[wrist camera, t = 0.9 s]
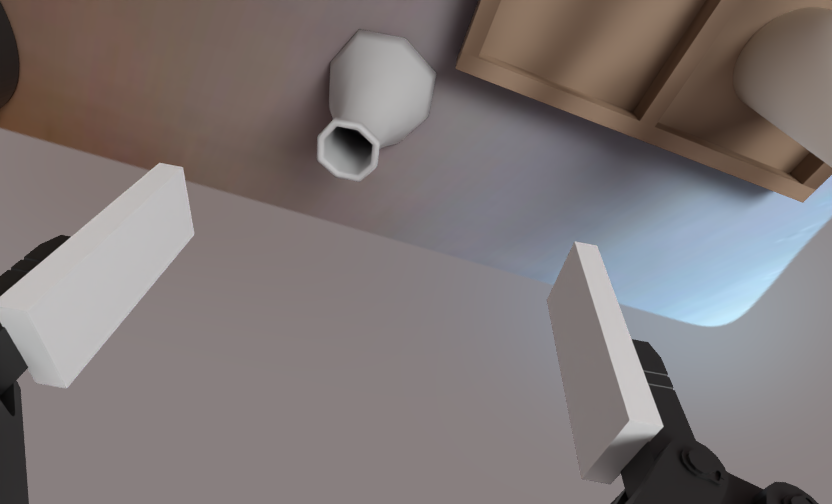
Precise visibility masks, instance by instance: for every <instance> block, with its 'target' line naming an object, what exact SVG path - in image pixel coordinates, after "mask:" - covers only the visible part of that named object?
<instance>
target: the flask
mask: <svg viewBox="0 0 832 504" xmlns="http://www.w3.org/2000/svg"><path fill="white" fill-rule="evenodd" d="M436 74H437V73H436V72H435V71H434V70H433V69H432V68H431V67H430V66H429V64H428V63H427V62H426V61H425V60H424V59H423V58H422V57H421V55H420V54H419V53H418V52H417V51H416V50H415V49H414V48H413V46H412V45H411V44H410V43H409V42H408V41H407V40H406V38H403V37H397V36H392V35H387V34H382V33H377V32H372V31H367V30H361V29H359V30H358V31H357V32H356V34H355V35H354V36H353V37H352V38H351V39H350V40H349V42H348V43H347V44H346V45H345V46H344V47H343V48H342V50H341V51H340V52H339V53H338V54H337V55H336V56H335V58H334V59H333V60H332V61H331V62H330V87H329V109H330V112H331V115H332V118H333V120H332V121H331V122H330V123H329V124H328V125H327V126H326V127H325V129H324V130H323V131H322V132H321V133H320V134H319V135H318V136H317V161H318V162H319V163H320V164H321V165H322V166H324V167H325V168H326V169H327V170H328V171H329V172H330V173H331V174H333V175H334V176H335V177H337V178H342V179H347V180H352V181H357V182H360V181H362V180H363V179H364V178H365V177H366V176H367V175H368V174H369V173H371V172H372V171H373V170H374V169H375V168H376V167H377V165H378V156H379V149H381V148H383V147H386V146H390V145H394V144H398V143H400V142H401V141H402V140H403V139H404V138H405V137H407V136H408V135H409V134H410V133H411V132H412V131H413V130H414V129H415V128H417V127H418V126H419V125H420V124H421V123H422V122H423V121H424V120H425V119H427V118H428V117H429V113H430V107H431V102H432V96H433V91H434V85H435V79H436Z"/></svg>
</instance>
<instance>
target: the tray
mask: <svg viewBox="0 0 832 504" xmlns="http://www.w3.org/2000/svg"><path fill="white" fill-rule="evenodd" d="M806 7H821V8H826V9H829V10H832V0H479V1H478V3H477V6H476V9H475V11H474V14H473V17H472V20H471V22H470V25H469V28H468V30H467V33H466V36H465V38H464V41H463V44H462V46H461V49H460V52H459V54H458V57H457V62H456V68H455V69H457V70H460V71H462V72H465V73H468V74H470V75H473V76H475V77H478V78H481V79H483V80H486V81H488V82H491V83H494V84H496V85H499V86H501V87H504V88H507V89H509V90H512V91H514V92H517V93H520V94H522V95H525V96H527V97H530V98H533V99H535V100H538V101H540V102H543V103H546V104H548V105H551V106H553V107H556V108H559V109H561V110H564V111H566V112H569V113H572V114H574V115H577V116H579V117H582V118H584V119H587V120H590V121H592V122H595V123H597V124H600V125H603V126H605V127H608V128H610V129H613V130H616V131H618V132H621V133H623V134H626V135H629V136H631V137H634V138H636V139H639V140H642V141H644V142H647V143H649V144H652V145H655V146H657V147H660V148H662V149H665V150H668V151H670V152H673V153H675V154H678V155H681V156H683V157H686V158H688V159H691V160H694V161H696V162H699V163H701V164H704V165H707V166H709V167H712V168H714V169H717V170H720V171H722V172H725V173H727V174H730V175H733V176H735V177H738V178H740V179H743V180H746V181H748V182H751V183H753V184H756V185H759V186H761V187H764V188H766V189H769V190H772V191H774V192H777V193H779V194H782V195H785V196H787V197H790V198H792V199H795V200H798V201H800V202H804V201H805V200H806V199H807V198H808V197H809V196H810V195H811V194H812V193H813V192H814V191H815V190H816V189H817V188H818V187H819V186H820V185H822V184H823V183H824V182H825V181H826V180H827V179H828V178H829V177H830V176H831V175H832V167H830V166H829V165H828V164H826V163H825V162H824V161H822V160H821V159H819V158H818V157H817V156H815V155H814V154H813V153H811V152H810V151H809V150H807V149H806V148H805V147H803V146H802V145H800V144H799V143H798V142H796V141H795V140H794V139H792V138H791V137H790V136H788V135H787V134H785V133H784V132H783V131H781V130H780V129H779V128H777V127H776V126H775V125H773V124H772V123H771V122H769V121H768V120H766V119H765V118H764V117H762V116H761V115H760V114H758V113H757V112H756V111H754V110H753V109H752V108H750V107H749V106H747V105H746V104H745V103H743V102H742V101H741V100H740V99H739V97H738V96H737V94H736V92H735V89H734V85H733V73H734V68H735V64H736V62H737V59H738V57H739V55H740V53H741V51H742V50H743V48H744V47H745V45H746V44H747V42H748V41H749V40H750V39H751V38H752V37H753V36H754V35H755V33H756V32H757V31H759V30H760V29H761V28H762V27H763V26H765V25H766V24H767V23H769V22H770V21H772V20H773V19H775V18H777V17H778V16H781V15H783V14H785V13H787V12H790V11H793V10H796V9H800V8H806Z"/></svg>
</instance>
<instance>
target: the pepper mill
mask: <svg viewBox="0 0 832 504" xmlns="http://www.w3.org/2000/svg"><path fill="white" fill-rule="evenodd" d="M733 85H734V89H735V92H736V94H737V96H738V97H739V99H740V100H741V101H742V102H743V103H745V104H746V105H747V106H749V107H750V108H752V109H753V110H754V111H756V112H757V113H758V114H760V115H761V116H762V117H764V118H765V119H766V120H768V121H769V122H771V123H772V124H773V125H775V126H776V127H777V128H779V129H780V130H781V131H783V132H784V133H785V134H787V135H788V136H790V137H791V138H792V139H794V140H795V141H796V142H798V143H799V144H800V145H802V146H803V147H805V148H806V149H807V150H809V151H810V152H811V153H813V154H814V155H815V156H817V157H818V158H819V159H821V160H822V161H824V162H825V163H826V164H828V165H829V166H830V167H832V10H829V9H826V8H821V7H806V8H800V9H796V10H793V11H790V12H787V13H785V14H783V15H781V16H778V17H777V18H775V19H773V20H772V21H770V22H769V23H767V24H766V25H765V26H763V27H762V28H761V29H760V30H759V31H757V32H756V33H755V35H754V36H753V37H752V38H751V39H750V40H749V41H748V42H747V44H746V45H745V47H744V48H743V50H742V51H741V53H740V55H739V57H738V59H737V62H736V64H735V68H734V73H733Z"/></svg>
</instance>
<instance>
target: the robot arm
mask: <svg viewBox="0 0 832 504" xmlns="http://www.w3.org/2000/svg"><path fill="white" fill-rule="evenodd" d="M18 73H19V60H18V52H17V46H16V42H15V38H14V35H13V32H12V28H11V26H10V23H9V20H8V18H7V16H6V14H5V11H4V9H3V7H2V5H1V3H0V108H1V107H2V106H3V105H4V104H6V103H7V101H8V100H9V99H10V98H11V96H12V94H13V92H14V90H15V88H16V84H17V80H18ZM193 236H194V229H193V223H192V218H191V212H190V206H189V200H188V194H187V189H186V183H185V177H184V171H183V167H179V166H174V165H169V164H163V163H159V164H157V165H156V166H155V167H154V168H153V169H151V170H150V171H149V172H148V173H147V174H145V175H144V176H143V177H142V178H141V179H140V180H138V181H137V182H136V183H135V184H134V185H132V186H131V187H130V188H129V189H128V190H126V191H125V192H124V193H123V194H122V195H120V196H119V197H118V198H117V199H116V200H115V201H113V202H112V203H111V204H110V205H109V206H107V207H106V208H105V209H104V210H103V211H102V212H100V213H99V214H98V215H97V216H95V217H94V218H93V219H92V220H91V221H90V222H88V223H87V224H86V225H85V226H84V227H82V228H81V229H80V230H79V231H78V232H76V233H75V234H74V235H73V236H72V237H70V236H64V235H60V236H58V237H55V238H53V239H51V240H49V241H47V242H45V243H42V244H40V245H39V246H38V247H36V248H35V249H34V250H32V251H31V252H30V253H29V254H27V255H26V256H25V257H24V260H20V261H19V262H18V263H16V264H15V265H14V266H13V267H11V270H7V271H6V272H5V273H4V274H2V275H1V276H0V504H29V501H28V486H27V473H26V458H25V445H24V431H23V417H22V404H21V389H20V387H19V385H18V382H17V381H16V380H17V379H18V378H19V377H20V376H21V374H23V372H24V371H25V370H26V369H28V370H29V372H30V374H31V375H32V377H33V379H34V381H35V382H36V383H38V384H44V385H50V386H55V387H61V388H68V387H69V385H70V384H71V383H72V382H73V380H74V379H75V378H76V377H77V376H78V375H79V373H80V372H81V371H82V370H83V368H84V367H85V366H86V365H87V364H88V362H89V361H90V360H91V359H92V358H93V356H94V355H95V354H96V353H97V352H98V350H99V349H100V348H101V347H102V346H103V344H104V343H105V342H106V340H107V339H108V338H109V337H110V336H111V335H112V333H113V332H114V331H115V330H116V328H117V327H118V326H119V325H120V324H121V323H122V321H123V320H124V319H125V318H126V317H127V315H128V314H129V313H130V312H131V310H132V309H133V308H134V307H135V306H136V305H137V303H138V302H139V301H140V300H141V298H142V297H143V296H144V295H145V294H146V292H147V291H148V290H149V289H150V288H151V286H152V285H153V284H154V283H155V282H156V280H157V279H158V278H159V277H160V276H161V274H162V273H163V272H164V271H165V270H166V268H167V267H168V266H169V265H170V263H171V262H172V261H173V260H174V259H175V257H176V256H177V255H178V254H179V253H180V251H181V250H182V249H183V248H184V246H185V245H186V244H187V243H188V242H189V240H190V239H191V238H192V237H193ZM547 304H548V309H549V314H550V319H551V324H552V329H553V334H554V340H555V345H556V350H557V355H558V361H559V365H560V371H561V376H562V381H563V386H564V392H565V397H566V402H567V407H568V413H569V418H570V423H571V428H572V433H573V438H574V444H575V449H576V454H577V459H578V464H579V470H580V475H581V479H583V480H589V481H594V482H600V483H606V484H611V483H612V482H613V481H614V480H615V479H616V478H617V477H618V476H619V475H620V473H621V475H622V479H623V483H624V487H625V489H624V491H622V492H621V494H620V495H619V496H618V497H617V498H616V499H615V500H614V501H613V502H612V503H611V504H818V503H817V502H816V501H815V500H814V499H813V498H812V497H811V496H809V495H808V494H807V493H805V492H804V491H802V490H801V489H799V488H798V487H796V486H793V485H791V484H788V483H786V482H774V483H773V484H771V485H769V486H768V487H767V488H765V489H761V488H759V487H757V486H755V485H753V484H751V483H749V482H747V481H744V480H742V479H740V478H738V477H736V476H734V475H732V474H730V473H728V472H727V471H726V470H725V467H724V466H723V464H722V463H721V462H720V460H719V459H718V457H717V456H716V455H715V454H714V453H713V452H712V451H710V450H709V449H708V448H707V447H706V446H704V445H702V444H701V443H699V442H697V441H696V440H695V438H694V435H693V433H692V431H691V428H690V426H689V423H688V421H687V419H686V416H685V414H684V411H683V409H682V407H681V405H680V402H679V400H678V397H677V395H676V392H675V391H674V390H673V385H672V383H671V380H670V378H669V377H667V375H668V373H667V371H666V368H665V366H664V364H663V361H662V359H661V357H660V356H659V355H658V354H657V352H656V351H655V350H654V349H653V348H652V346H651V345H650V344H649V343H648V342H644V341H638V340H633V339H631V337H630V334H629V331H628V328H627V326H626V323H625V320H624V318H623V315H622V312H621V310H620V307H619V304H618V301H617V299H616V296H615V293H614V290H613V288H612V285H611V282H610V280H609V277H608V274H607V271H606V269H605V266H604V263H603V261H602V258H601V255H600V253H599V250H598V247H597V246H596V245H590V244H585V243H580V242H574V244H573V246H572V248H571V250H570V252H569V254H568V257H567V259H566V261H565V263H564V265H563V267H562V269H561V271H560V273H559V276H558V278H557V280H556V282H555V284H554V286H553V288H552V290H551V293H550V295H549V297H548V299H547Z"/></svg>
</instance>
